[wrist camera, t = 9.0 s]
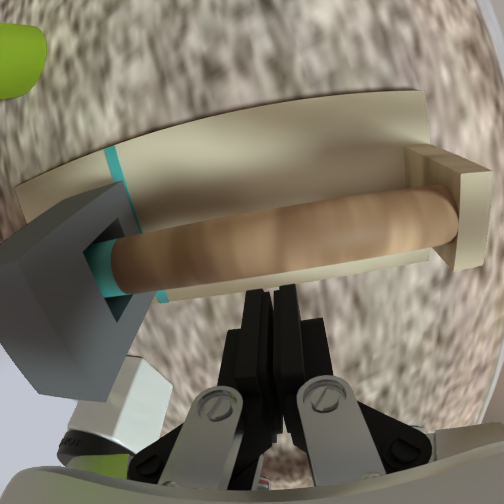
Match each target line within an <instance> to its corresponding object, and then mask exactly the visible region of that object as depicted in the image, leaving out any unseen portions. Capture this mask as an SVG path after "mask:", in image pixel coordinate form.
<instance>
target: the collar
mask: <svg viewBox="0 0 504 504" xmlns="http://www.w3.org/2000/svg"><path fill="white" fill-rule="evenodd" d="M137 234H140V232H139V229H138V226H137V223H136V220H135V217H134V215H133V212H132V209H131V206H130V203H129V200H128V197H127V194H126V190H125V187H124V184H123V181H122V180H121V181H118V182H115V183H111V184H108V185H105V186H102V187H99V188H96V189H93V190H90V191H87V192H84V193H81V194H78V195H75V196H72V197H69V198H66V199H63V200H62V201H60V202H59V203H57V204H56V205H54V206H53V207H51V208H50V209H48V210H47V211H45V212H44V213H42V214H41V215H39V216H38V217H36V218H35V219H33V220H32V221H31V222H29V223H28V224H26V225H25V226H24V227H22V228H21V229H20V230H18V231H17V232H16V233H14V234H13V235H11V236H10V237H9V238H8V239H6V240H5V241H4V242H2V243H1V244H0V343H1V345H2V346H3V348H4V349H5V351H6V352H7V354H8V355H9V356H10V358H11V359H12V361H13V362H14V363H15V365H16V366H17V367H18V368H19V370H20V371H21V372H22V374H23V375H24V376H25V378H26V379H27V380H28V381H29V382H30V384H31V385H32V386H33V388H34V389H35V390H36V391H37V392H38V393H39V394H43V395H49V396H55V397H62V398H69V399H77V400H85V401H94V402H105V403H106V401H107V399H108V396H109V394H110V392H111V389H112V387H113V385H114V382H115V380H116V378H117V375H118V373H119V371H120V369H121V366H122V364H123V362H124V360H125V358H126V355H127V353H128V351H129V349H130V347H131V344H132V342H133V340H134V338H135V336H136V334H137V332H138V330H139V327H140V325H141V323H142V321H143V319H144V317H145V315H146V313H147V311H148V309H149V307H150V305H151V303H152V301H153V299H154V297H155V295H156V293H157V291H153V292H145V293H137V294H129V295H121V296H113V297H105V298H104V297H103V295H102V293H101V291H100V289H99V287H98V285H97V283H96V281H95V278H94V276H93V274H92V272H91V270H90V268H89V265H88V263H87V261H86V259H85V256H84V254H83V251H84V250H85V249H86V248H87V247H88V246H89V245H92V244H96V243H100V242H105V241H109V240H114V239H118V238H123V237H127V236H132V235H137Z"/></svg>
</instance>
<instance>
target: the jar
mask: <svg viewBox="0 0 504 504" xmlns="http://www.w3.org/2000/svg"><path fill="white" fill-rule="evenodd" d="M172 389H173V385H172V384H171V383H170V382H169V381H168V380H166V379H165V378H164V377H163V376H162V375H161V374H160V373H159V372H158V371H156V370H155V369H154V368H153V367H152V366H151V365H150V364H149V363H148V362H147V361H146V360H145V359H143V358H139V357H130V356H126V358H125V360H124V362H123V364H122V366H121V369H120V371H119V373H118V375H117V378H116V380H115V382H114V385H113V387H112V389H111V392H110V394H109V396H108V399H107V401H106V403H105V402H94V401H85V400H79V402H78V404H77V406H76V408H75V410H74V413H73V415H72V417H71V419H70V421H69V423H68V432H66V434H65V436H64V438H63V439H62V441H61V443H60V445H59V450H58V452H57V457H58V459H59V461H60V462H61V463H62V464H63V465H64V466H65V467H66V466H67V464H68V463H69V461H70V460H71V459H73V458H75V457H77V456H91V455H116V454H129V455H130V456H134V455H136V454H137V453H138V452H139V451H141V450H142V449H144V448H146V447H147V446H149V445H150V444H152V443H153V442H155V441H157V440H158V439H159V437H160V433H161V429H162V425H163V421H164V418H165V414H166V410H167V407H168V403H169V399H170V396H171V392H172Z"/></svg>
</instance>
